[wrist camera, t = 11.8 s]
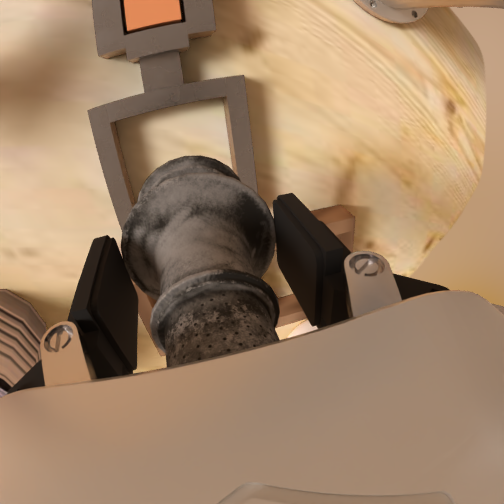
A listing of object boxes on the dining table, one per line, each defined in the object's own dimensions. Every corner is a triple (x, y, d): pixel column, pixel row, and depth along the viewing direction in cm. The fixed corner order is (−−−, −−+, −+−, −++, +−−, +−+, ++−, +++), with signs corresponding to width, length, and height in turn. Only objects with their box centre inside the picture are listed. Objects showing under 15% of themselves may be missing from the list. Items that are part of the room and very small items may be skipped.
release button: (174, -14, 16) (176, -24, 13) (179, 25, 18) (181, 18, 16) (127, -4, 15) (122, -13, 13) (131, 36, 17) (127, 30, 15)
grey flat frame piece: (222, -39, 15) (230, -52, 13) (254, 204, 28) (263, 218, 26) (77, -9, 13) (67, -18, 11) (129, 234, 26) (126, 251, 24)
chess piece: (116, 244, 14) (93, 511, 4) (156, 130, 12) (111, 424, 2) (223, 273, 16) (298, 501, 7) (274, 176, 14) (457, 396, 4)
